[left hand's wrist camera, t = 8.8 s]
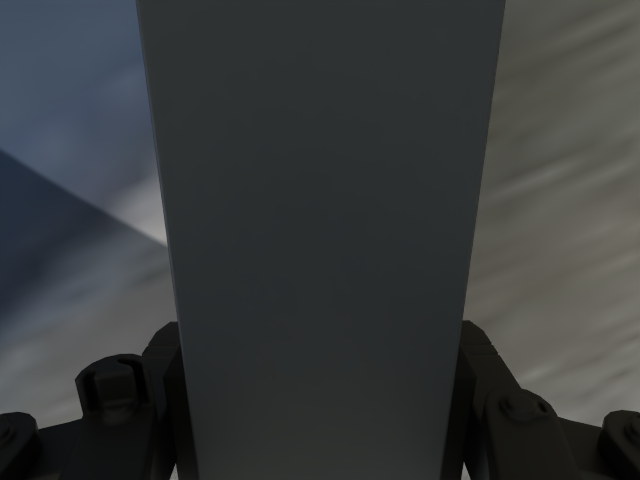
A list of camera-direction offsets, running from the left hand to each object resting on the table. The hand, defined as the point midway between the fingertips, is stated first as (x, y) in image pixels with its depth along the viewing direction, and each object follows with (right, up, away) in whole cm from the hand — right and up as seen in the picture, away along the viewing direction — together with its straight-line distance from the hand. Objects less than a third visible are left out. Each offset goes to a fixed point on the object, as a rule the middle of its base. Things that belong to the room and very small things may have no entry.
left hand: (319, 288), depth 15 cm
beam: (0, +31, -10) cm, 32 cm away
